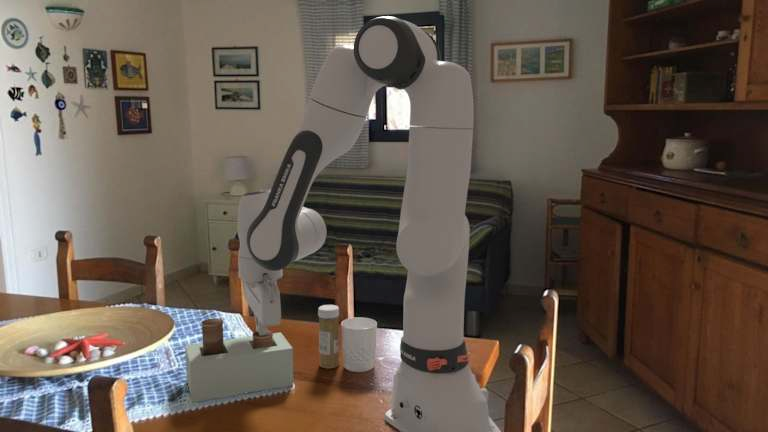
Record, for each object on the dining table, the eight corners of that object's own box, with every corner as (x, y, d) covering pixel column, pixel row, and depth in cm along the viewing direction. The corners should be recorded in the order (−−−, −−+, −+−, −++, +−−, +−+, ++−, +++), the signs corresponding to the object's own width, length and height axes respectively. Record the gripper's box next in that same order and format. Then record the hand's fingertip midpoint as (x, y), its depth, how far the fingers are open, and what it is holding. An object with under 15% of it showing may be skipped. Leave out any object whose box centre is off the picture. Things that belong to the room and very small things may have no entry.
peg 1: (225, 357, 121) (224, 323, 120) (204, 360, 120) (202, 326, 119) (222, 349, 125) (221, 317, 124) (201, 352, 123) (200, 319, 122)
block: (293, 385, 125) (292, 348, 124) (192, 402, 117) (190, 363, 116) (281, 367, 134) (280, 332, 133) (186, 381, 126) (185, 345, 125)
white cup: (343, 375, 130) (343, 330, 128) (339, 360, 138) (338, 318, 136) (379, 372, 132) (380, 328, 130) (373, 358, 139) (373, 316, 138)
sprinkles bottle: (343, 366, 134) (342, 308, 132) (324, 371, 132) (324, 311, 130) (333, 359, 138) (332, 302, 136) (315, 363, 136) (314, 306, 134)
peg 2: (275, 367, 126) (274, 335, 125) (255, 370, 124) (254, 338, 123) (271, 360, 130) (270, 329, 128) (251, 363, 128) (250, 331, 127)
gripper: (288, 279, 115) (289, 348, 118) (265, 256, 134) (266, 316, 136) (255, 282, 113) (256, 353, 115) (236, 258, 131) (237, 319, 134)
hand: (261, 333), depth 126 cm, fingers closed
